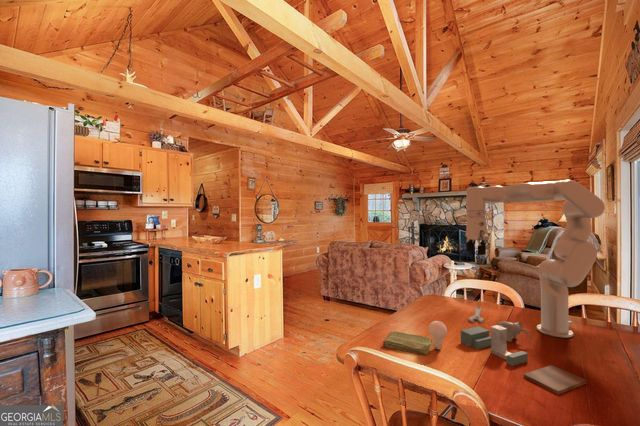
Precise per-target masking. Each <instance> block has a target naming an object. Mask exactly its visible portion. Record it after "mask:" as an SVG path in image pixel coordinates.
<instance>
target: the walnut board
mask: <svg viewBox="0 0 640 426" xmlns="http://www.w3.org/2000/svg"><path fill="white" fill-rule="evenodd" d="M523 377H524V378H525V379H527V380H528V381H531V382H533V383H534V384H537V385H538V386H541V387H542V388H545V389H546V390H549V391H550V392H552V393H554V394H556V395H561V394H564V393H566V392H568V391H571V390H574V389H576V388H579V387H582V386H584V385H586V383H587V382H588V381H587V380H586V379H584V378H582V377H580V376H578V375H575V374H574V373H571V372H569V371H566V370H564V369H562V368H559V367H557V366H555V365H553V364H550V365H548V366H545V367H541V368H538V369H535V370H532V371H529V372H525V373H524V374H523Z"/></svg>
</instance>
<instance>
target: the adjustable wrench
mask: <svg viewBox="0 0 640 426" xmlns="http://www.w3.org/2000/svg"><path fill="white" fill-rule="evenodd" d="M474 311H475V312H474V314H473V315H472V316H468V321H469V323H472V324H474V323H475V322H479V324H483V323H484V322H485V318H483V317H481V312H482V306H480V305H478V306H477V305H476V306H475V310H474Z"/></svg>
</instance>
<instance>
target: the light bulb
mask: <svg viewBox="0 0 640 426" xmlns="http://www.w3.org/2000/svg"><path fill="white" fill-rule="evenodd" d="M428 332H429V334H430V336H431V337H432V343H433V347H434V349H436V350H442V349H443V343H444V341H443V340H444V339H445V337H446V336H447V334H448V328H447V326H446V324H444V322H443V321H440V320H434V321H431V323H430V324H428Z"/></svg>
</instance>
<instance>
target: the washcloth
mask: <svg viewBox="0 0 640 426" xmlns="http://www.w3.org/2000/svg"><path fill="white" fill-rule="evenodd" d="M432 343H433V338H432V339H431V338H430V337H426V336H423V335H420V334H411V333H406V332H402V331H395V330H394V331H389V333H388V335H387V337H386V338H385V339H384V340H383V342H382V345H383V347H385V348H387V349H393V350H396V351H401V352H408V353H414V354H421V355H426V356H427V355H428V353H429V351H430V349H431V348H432Z"/></svg>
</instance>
